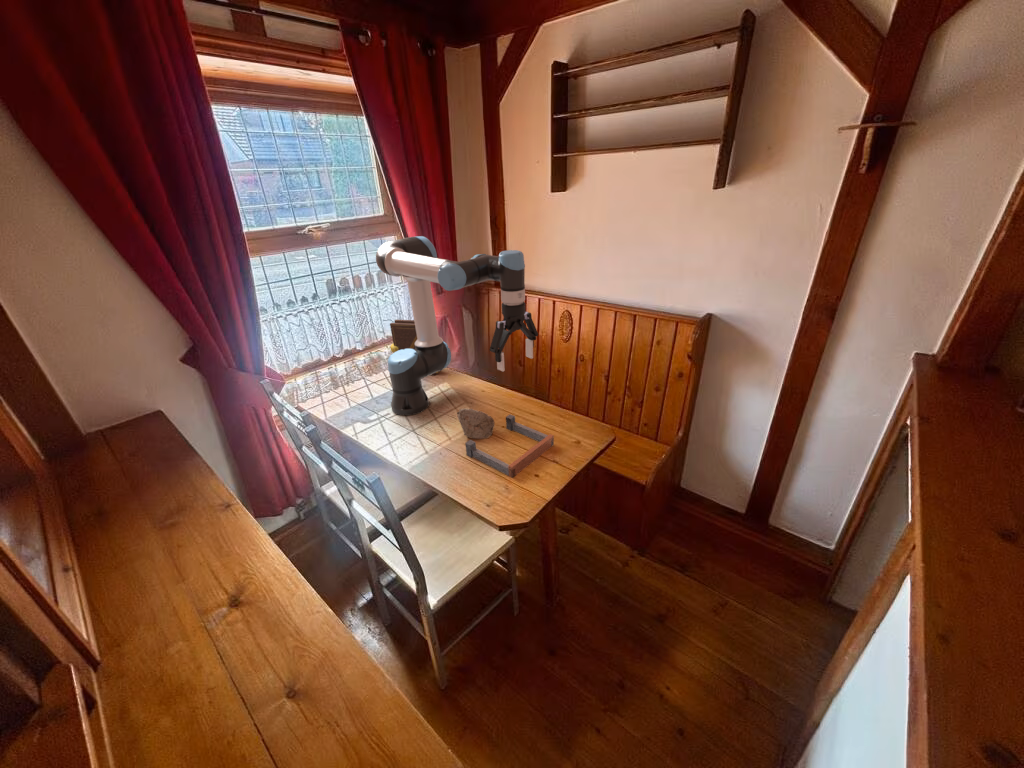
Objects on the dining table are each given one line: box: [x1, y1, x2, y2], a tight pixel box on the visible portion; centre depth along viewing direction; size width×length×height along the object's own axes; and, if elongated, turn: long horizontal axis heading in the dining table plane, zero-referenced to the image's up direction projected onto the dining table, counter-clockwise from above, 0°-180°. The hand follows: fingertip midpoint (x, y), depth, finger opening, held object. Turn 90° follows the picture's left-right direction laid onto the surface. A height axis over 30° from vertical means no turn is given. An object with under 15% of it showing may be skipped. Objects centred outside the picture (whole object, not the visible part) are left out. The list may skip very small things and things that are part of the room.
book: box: [389, 319, 440, 377], centre depth 199 cm, size 22×8×25 cm, turn 77°
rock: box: [456, 408, 495, 440], centre depth 153 cm, size 14×10×8 cm
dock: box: [465, 414, 555, 479], centre depth 144 cm, size 20×23×5 cm
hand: (515, 363), depth 143 cm, fingers open, 13 cm apart
